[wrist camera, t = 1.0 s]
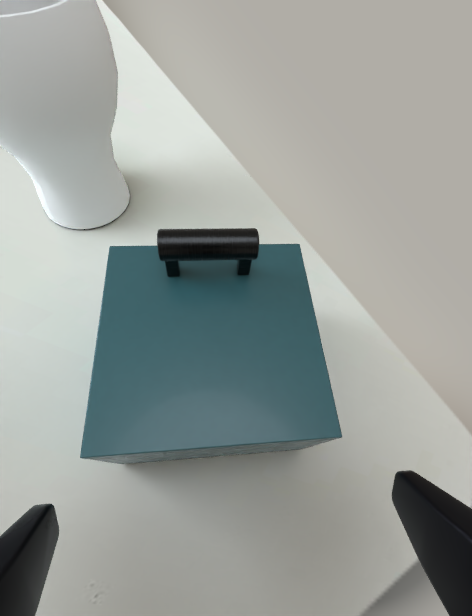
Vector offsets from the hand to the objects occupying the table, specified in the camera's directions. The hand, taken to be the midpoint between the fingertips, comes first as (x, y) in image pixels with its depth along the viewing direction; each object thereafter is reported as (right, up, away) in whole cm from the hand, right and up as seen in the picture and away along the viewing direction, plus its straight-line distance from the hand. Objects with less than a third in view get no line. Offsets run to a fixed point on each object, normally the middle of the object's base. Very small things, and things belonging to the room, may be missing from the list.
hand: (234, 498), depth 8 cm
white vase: (-14, +15, +22) cm, 30 cm away
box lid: (-1, +3, +9) cm, 10 cm away
